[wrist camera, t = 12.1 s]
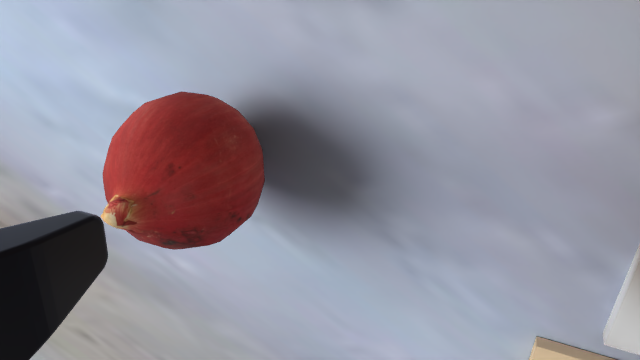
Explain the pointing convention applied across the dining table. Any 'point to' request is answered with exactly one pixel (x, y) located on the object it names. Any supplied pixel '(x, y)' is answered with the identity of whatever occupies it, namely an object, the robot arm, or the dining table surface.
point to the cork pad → (561, 352)
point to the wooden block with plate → (626, 313)
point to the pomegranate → (183, 172)
